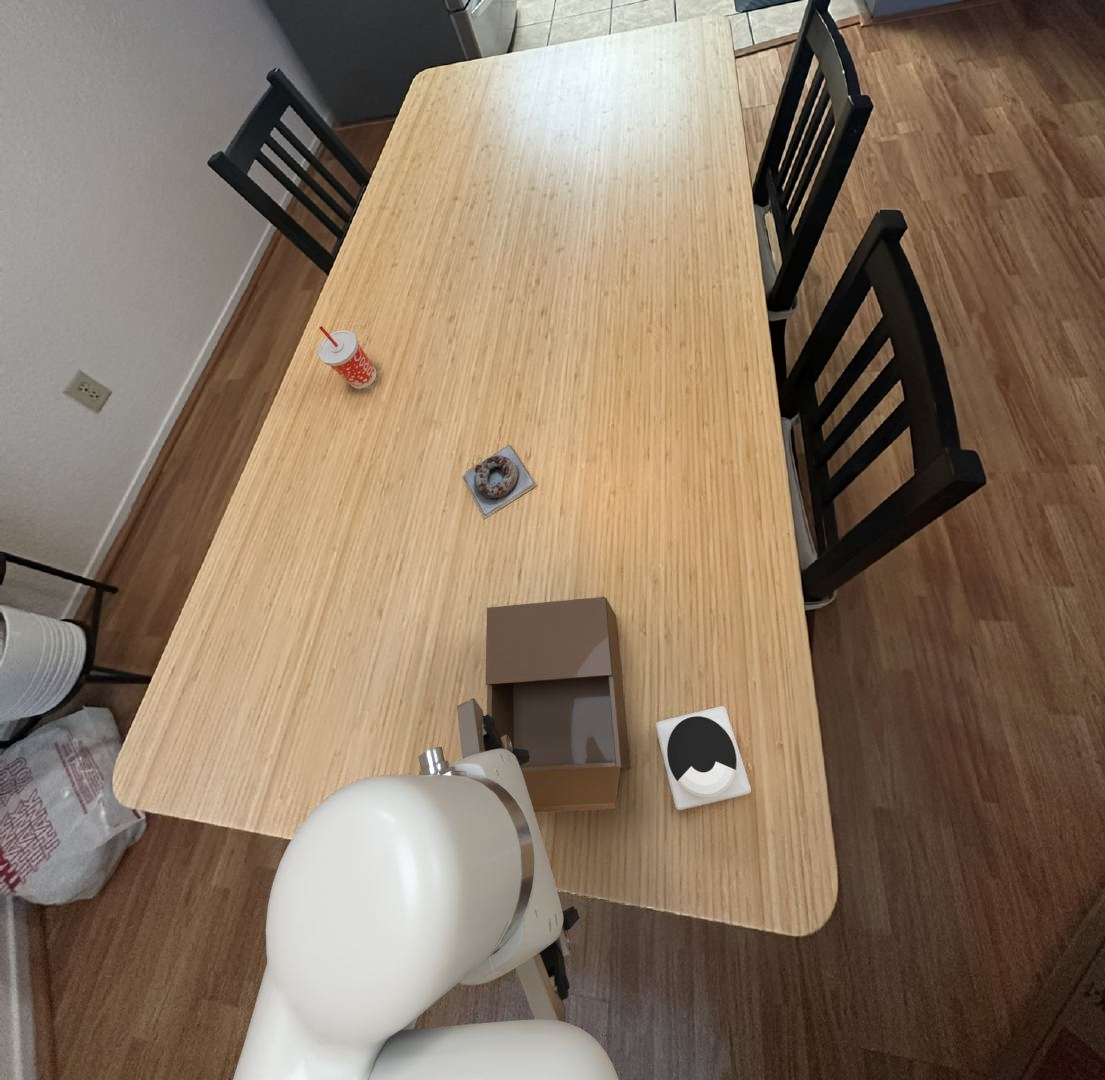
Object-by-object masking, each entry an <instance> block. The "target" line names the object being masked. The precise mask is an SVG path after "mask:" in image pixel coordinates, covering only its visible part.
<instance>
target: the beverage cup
mask: <svg viewBox="0 0 1105 1080" xmlns="http://www.w3.org/2000/svg"><path fill="white" fill-rule="evenodd" d="M318 329H319V330H320V331H321V332H322V333H323V334H324V335H325V338H324V339H323V340H322V342H321V343H320V345H319V347H318V357H319V360H321V362H323V363H324V364H325V365H326V366H329V367H331V368H332V369H333V371H335V372H336V373H337V374H338V375H339V376H340V377H342V378H343V380H344V381H346V382H347V383H348V384H349V385H350V386H351V387H353V388H354V389H357V390H362V389H366V388H369V386H370V385H372V384H373V383H374V382H375V380H376V378H377V370H376V367H375V366H374V365H373V363H372V361H371V360H370V359H369V357H368V356H367V354H366V352H365V351H364V349H363V348H362V347H361V345H360V343H359V340H358V338H357V337H356V334H355V333H353V332H352V331H350V330H345V329H341V330H337V331H333V332H332V333H330V334H329V332H328V331H327V330H326V329H325V328H324V327H323V326H322V325H321V326H319V328H318Z"/></svg>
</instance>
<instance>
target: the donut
mask: <svg viewBox="0 0 1105 1080" xmlns="http://www.w3.org/2000/svg"><path fill="white" fill-rule="evenodd" d="M462 479H463V481H464V483H465V485H466V487H467V489H468V491H469V493H470V495H471V496H472V499H473V501H474V502H475V505H476V506H477V508H478V510H479V512H480V514H481V516H482V518H483V519H484V520H485V519H487V518H489V517H491V516H492V515H493V514H495V513H496V512H498V511H499V510H500V509H503V508H504V507H505V506H508V505H509V504H511V503H512V502H514V501H515V500H517V499H518V498H520V497H521V496H523V495H525V494H526V493H528V492H530V491H531V490H532V489H534V488H536V487H537V486H538V484H537V483H536V481H535V480H534V478H533V476H532V475H531V473H530V472H529V471H528V468H527V467H526V466H525V465H524V462H523V461H522V460H521V457H519V454H518V453H517V451H516V450H515V449H514V447H513V446H512V445H509V444H508V445H506V446H504V447H503V448H502V449H500V450H497V452H495V453H493V454H492V455H490V456H489V457H487V458H485V459H484V460H481V461H480V462H479V463H477V464H475V465H474V466H472V467H471V468H469V469H468V470H467V471H466V472H465V474H463V476H462Z"/></svg>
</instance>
